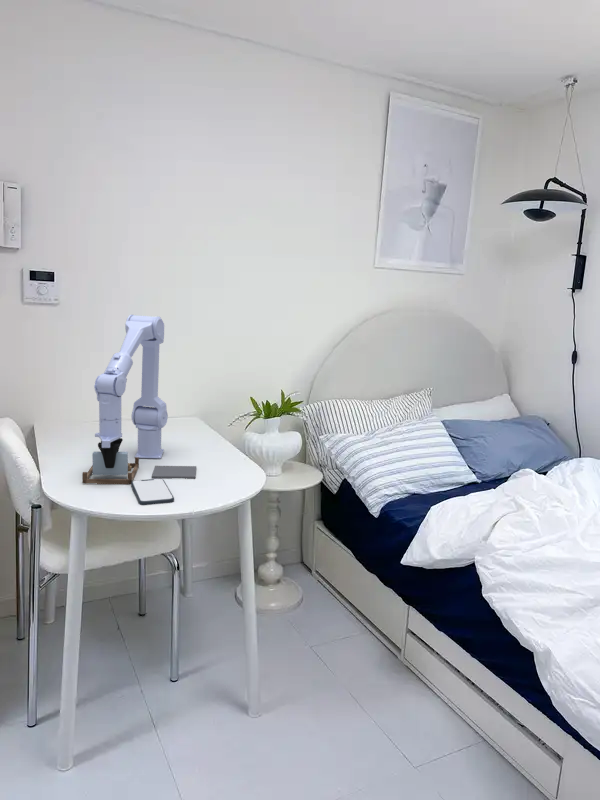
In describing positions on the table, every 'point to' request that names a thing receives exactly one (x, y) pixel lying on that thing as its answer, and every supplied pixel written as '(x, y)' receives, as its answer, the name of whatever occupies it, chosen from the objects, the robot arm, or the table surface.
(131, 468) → the offcut stack
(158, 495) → the phone case
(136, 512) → the table surface
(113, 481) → the frame
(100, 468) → the panel
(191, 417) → the table surface
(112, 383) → the robot arm
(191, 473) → the mat
